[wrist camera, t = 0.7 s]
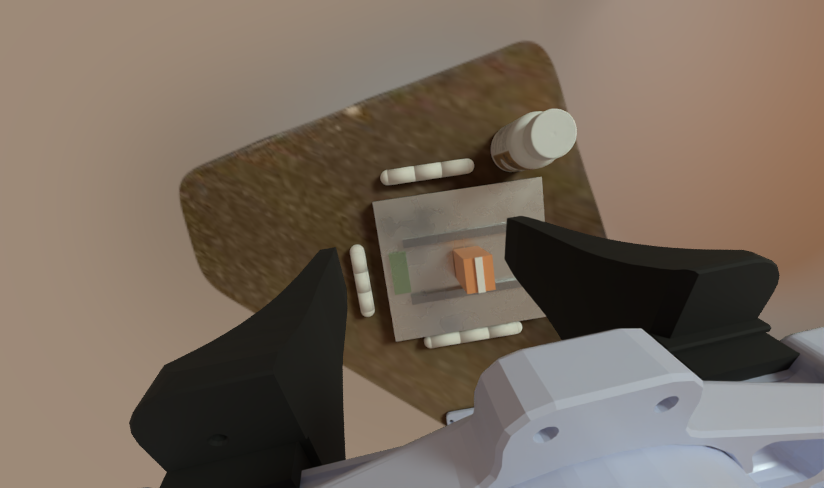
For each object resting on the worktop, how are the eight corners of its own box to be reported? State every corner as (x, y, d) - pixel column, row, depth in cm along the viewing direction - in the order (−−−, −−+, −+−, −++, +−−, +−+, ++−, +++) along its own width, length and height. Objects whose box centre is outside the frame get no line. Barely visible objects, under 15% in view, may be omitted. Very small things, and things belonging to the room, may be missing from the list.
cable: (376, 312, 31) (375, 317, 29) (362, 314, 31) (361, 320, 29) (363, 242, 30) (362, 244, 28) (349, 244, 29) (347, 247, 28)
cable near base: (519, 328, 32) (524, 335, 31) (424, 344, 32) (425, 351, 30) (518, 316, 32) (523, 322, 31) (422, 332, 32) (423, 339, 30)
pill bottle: (487, 171, 29) (520, 163, 22) (492, 123, 28) (528, 98, 21) (530, 173, 29) (579, 167, 22) (536, 127, 29) (588, 103, 21)
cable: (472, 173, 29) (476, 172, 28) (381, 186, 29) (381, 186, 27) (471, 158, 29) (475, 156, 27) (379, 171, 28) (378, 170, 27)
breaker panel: (543, 310, 32) (553, 318, 30) (395, 334, 31) (396, 344, 29) (534, 177, 29) (544, 176, 27) (373, 201, 29) (371, 202, 27)
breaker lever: (480, 275, 29) (496, 290, 25) (456, 279, 29) (468, 295, 25) (477, 245, 28) (493, 255, 24) (452, 249, 28) (463, 259, 24)
